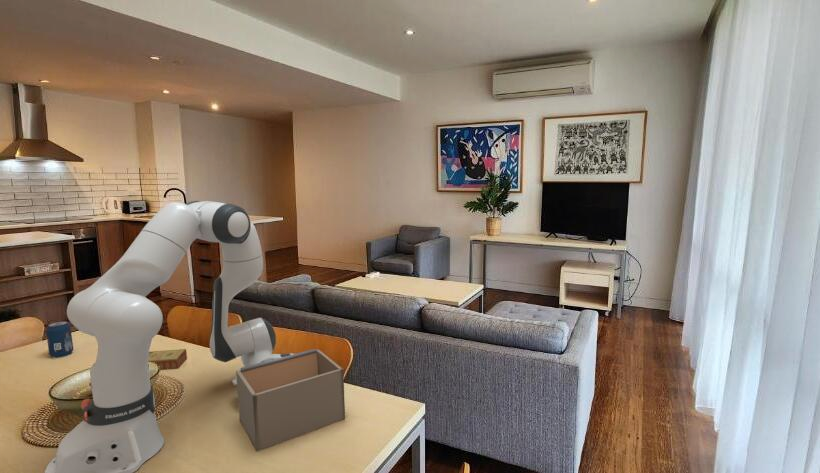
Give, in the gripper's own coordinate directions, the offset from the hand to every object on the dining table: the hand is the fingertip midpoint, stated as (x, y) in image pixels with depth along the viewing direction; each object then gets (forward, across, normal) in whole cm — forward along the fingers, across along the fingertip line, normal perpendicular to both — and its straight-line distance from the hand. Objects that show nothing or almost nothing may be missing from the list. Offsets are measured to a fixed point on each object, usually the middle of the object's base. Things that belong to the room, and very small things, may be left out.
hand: (282, 388), depth 117 cm
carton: (-53, -25, +7) cm, 59 cm away
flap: (+1, 0, +5) cm, 5 cm away
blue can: (-86, -53, +7) cm, 101 cm away
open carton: (+7, 0, +6) cm, 9 cm away
